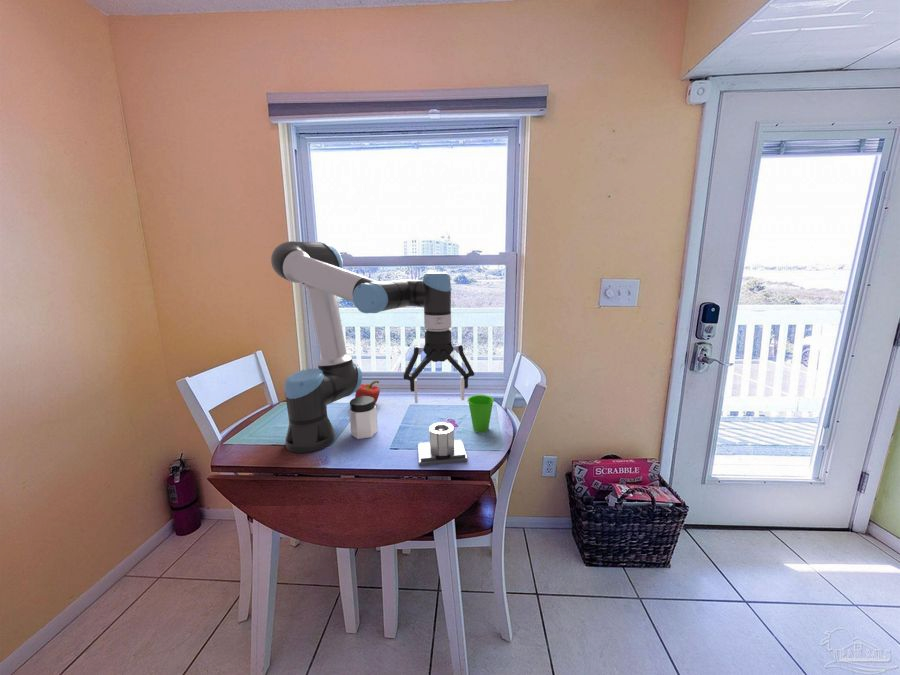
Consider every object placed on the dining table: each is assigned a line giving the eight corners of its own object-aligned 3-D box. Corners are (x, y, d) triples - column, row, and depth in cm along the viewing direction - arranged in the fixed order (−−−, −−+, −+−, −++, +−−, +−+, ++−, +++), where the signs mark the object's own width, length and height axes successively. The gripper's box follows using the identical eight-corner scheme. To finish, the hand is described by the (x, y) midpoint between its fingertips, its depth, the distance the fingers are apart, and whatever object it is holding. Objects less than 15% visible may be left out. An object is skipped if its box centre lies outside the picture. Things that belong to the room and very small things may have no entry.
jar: (382, 433, 119) (379, 400, 117) (360, 441, 114) (357, 407, 111) (368, 424, 126) (366, 393, 123) (347, 432, 120) (344, 400, 118)
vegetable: (375, 398, 150) (373, 376, 148) (386, 405, 142) (385, 382, 140) (351, 405, 144) (349, 382, 141) (362, 413, 136) (360, 389, 134)
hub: (431, 456, 100) (430, 434, 99) (429, 444, 107) (429, 423, 106) (455, 454, 101) (454, 432, 100) (452, 442, 108) (451, 421, 106)
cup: (496, 434, 116) (496, 404, 114) (469, 436, 116) (468, 405, 113) (491, 422, 125) (491, 394, 123) (466, 424, 125) (466, 395, 122)
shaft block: (419, 465, 99) (418, 439, 98) (418, 447, 109) (417, 423, 107) (467, 461, 101) (467, 435, 99) (462, 444, 111) (461, 420, 109)
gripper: (392, 333, 92) (396, 407, 96) (484, 329, 95) (484, 402, 99) (393, 327, 99) (396, 397, 104) (479, 324, 102) (478, 392, 107)
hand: (439, 400), depth 101 cm, fingers open, 13 cm apart
